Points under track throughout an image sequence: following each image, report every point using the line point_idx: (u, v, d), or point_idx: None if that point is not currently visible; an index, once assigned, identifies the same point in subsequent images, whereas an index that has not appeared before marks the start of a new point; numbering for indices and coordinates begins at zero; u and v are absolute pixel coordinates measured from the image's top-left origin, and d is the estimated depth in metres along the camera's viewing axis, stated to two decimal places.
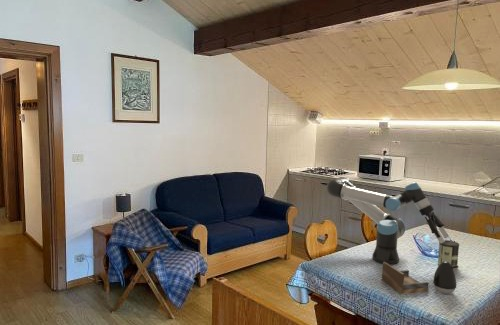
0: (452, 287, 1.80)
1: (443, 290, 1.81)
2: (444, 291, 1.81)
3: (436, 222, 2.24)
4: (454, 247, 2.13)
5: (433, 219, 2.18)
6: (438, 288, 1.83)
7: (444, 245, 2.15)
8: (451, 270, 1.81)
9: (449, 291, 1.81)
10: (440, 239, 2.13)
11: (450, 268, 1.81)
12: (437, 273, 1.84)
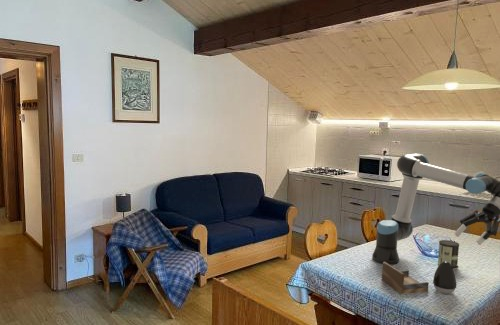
0: (452, 287, 1.80)
1: (443, 290, 1.81)
2: (444, 291, 1.81)
3: (473, 221, 1.90)
4: (454, 247, 2.13)
5: (491, 223, 1.83)
6: (438, 288, 1.83)
7: (444, 245, 2.15)
8: (451, 270, 1.81)
9: (449, 291, 1.81)
10: (481, 240, 1.78)
11: (450, 268, 1.81)
12: (437, 273, 1.84)
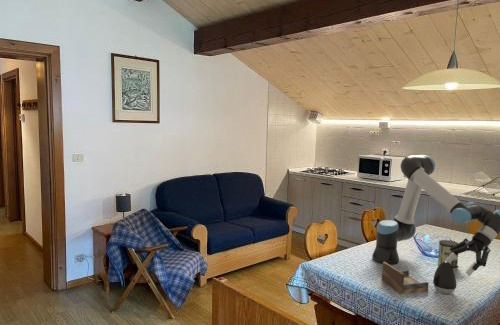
0: (452, 287, 1.80)
1: (443, 290, 1.81)
2: (444, 291, 1.81)
3: (462, 250, 1.89)
4: None
5: None
6: (438, 288, 1.83)
7: (444, 245, 2.15)
8: (451, 270, 1.81)
9: (449, 291, 1.81)
10: (470, 271, 1.77)
11: (450, 268, 1.81)
12: (437, 273, 1.84)
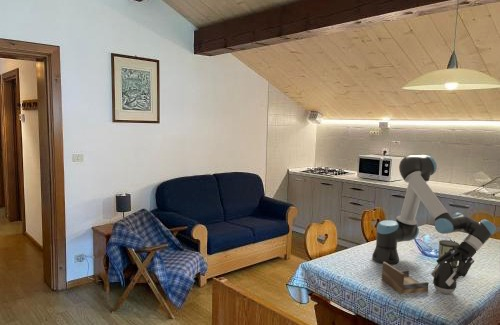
0: (452, 287, 1.80)
1: (443, 290, 1.81)
2: (444, 291, 1.81)
3: (449, 261, 1.88)
4: (454, 247, 2.13)
5: (464, 263, 1.82)
6: (438, 288, 1.83)
7: (444, 245, 2.15)
8: (451, 270, 1.81)
9: (449, 291, 1.81)
10: (450, 281, 1.79)
11: (450, 268, 1.81)
12: (437, 273, 1.84)
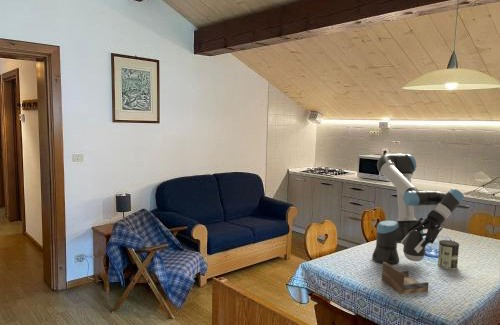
0: (421, 254, 1.84)
1: (412, 257, 1.85)
2: (413, 258, 1.85)
3: (419, 229, 1.92)
4: (454, 247, 2.13)
5: (433, 231, 1.86)
6: (408, 255, 1.86)
7: (444, 245, 2.15)
8: (420, 237, 1.85)
9: (418, 258, 1.84)
10: (419, 248, 1.82)
11: (419, 236, 1.85)
12: (407, 241, 1.87)
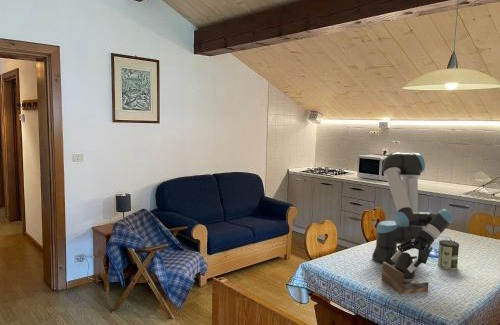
0: (410, 277, 1.86)
1: None
2: None
3: (408, 248, 1.95)
4: (454, 247, 2.13)
5: (424, 251, 1.88)
6: None
7: (444, 245, 2.15)
8: (410, 260, 1.87)
9: (407, 281, 1.86)
10: (412, 268, 1.83)
11: (409, 258, 1.87)
12: (397, 263, 1.89)
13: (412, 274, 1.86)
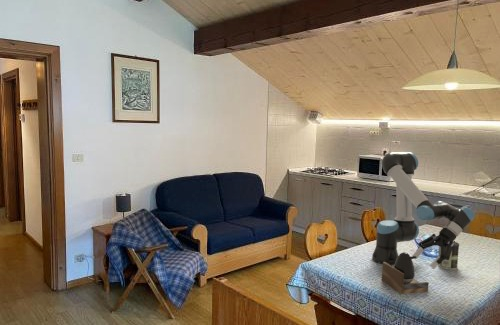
0: (410, 277, 1.86)
1: None
2: None
3: (430, 244, 1.97)
4: (454, 247, 2.13)
5: (446, 247, 1.90)
6: None
7: None
8: (409, 260, 1.87)
9: (407, 281, 1.86)
10: (435, 264, 1.85)
11: (408, 259, 1.87)
12: (396, 264, 1.90)
13: (412, 274, 1.86)
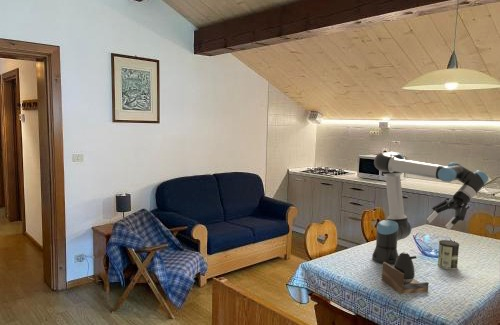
0: (410, 277, 1.86)
1: None
2: None
3: (444, 208, 2.02)
4: (454, 247, 2.13)
5: (460, 210, 1.95)
6: None
7: (444, 245, 2.15)
8: (409, 260, 1.87)
9: (407, 281, 1.86)
10: (450, 225, 1.90)
11: (408, 259, 1.87)
12: (396, 264, 1.90)
13: (412, 274, 1.86)
